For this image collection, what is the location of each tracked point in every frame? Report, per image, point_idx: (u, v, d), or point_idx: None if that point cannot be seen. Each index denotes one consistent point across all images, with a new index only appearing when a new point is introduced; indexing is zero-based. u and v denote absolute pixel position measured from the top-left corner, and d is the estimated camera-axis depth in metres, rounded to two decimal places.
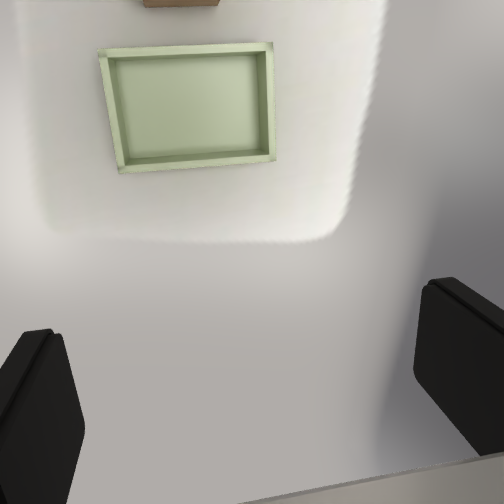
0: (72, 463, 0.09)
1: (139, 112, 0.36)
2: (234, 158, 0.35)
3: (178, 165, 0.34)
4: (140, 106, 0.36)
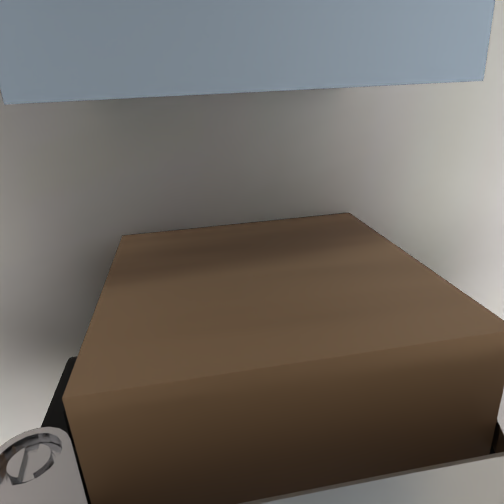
0: None
1: None
2: None
3: None
4: None
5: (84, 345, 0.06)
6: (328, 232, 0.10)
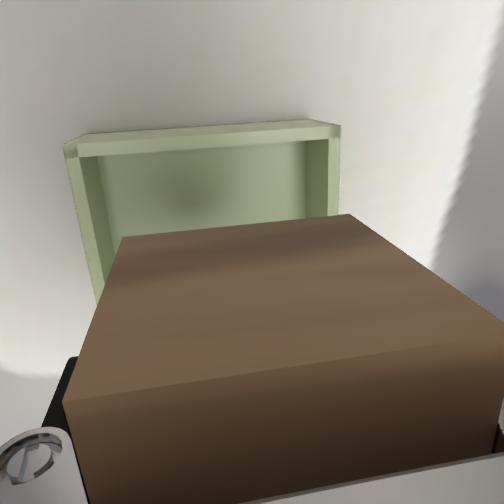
0: None
1: (132, 216, 0.24)
2: None
3: None
4: (134, 207, 0.24)
5: (84, 348, 0.06)
6: (329, 234, 0.10)
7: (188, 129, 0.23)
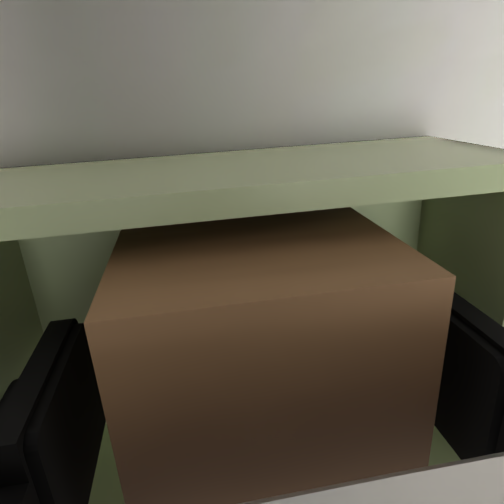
0: (96, 447, 0.10)
1: None
2: None
3: None
4: None
5: (98, 291, 0.07)
6: None
7: (201, 160, 0.11)
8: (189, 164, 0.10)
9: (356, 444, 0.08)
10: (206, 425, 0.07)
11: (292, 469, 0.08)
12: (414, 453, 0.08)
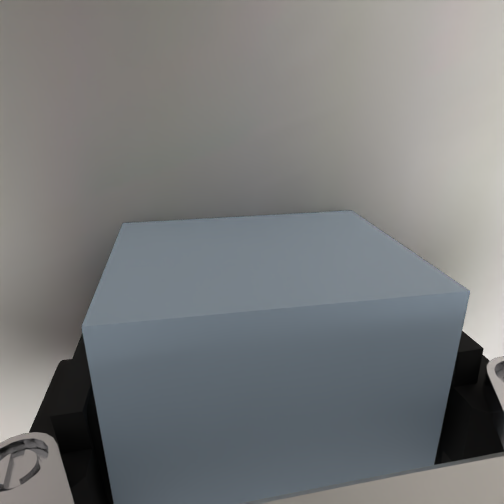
0: None
1: None
2: None
3: None
4: None
5: None
6: None
7: None
8: None
9: None
10: None
11: None
12: None
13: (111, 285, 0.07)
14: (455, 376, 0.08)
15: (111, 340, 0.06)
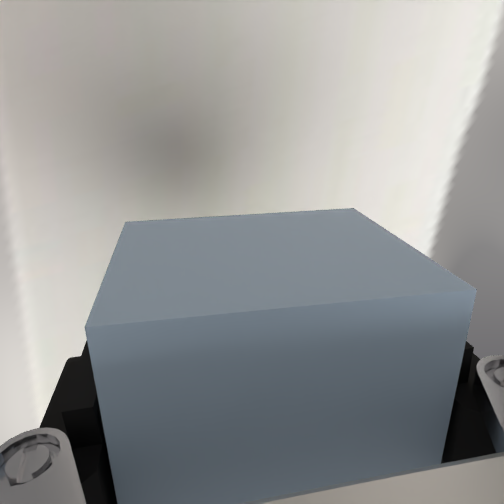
0: None
1: None
2: None
3: None
4: None
5: None
6: None
7: None
8: None
9: None
10: None
11: None
12: None
13: (114, 285, 0.07)
14: None
15: (115, 341, 0.06)
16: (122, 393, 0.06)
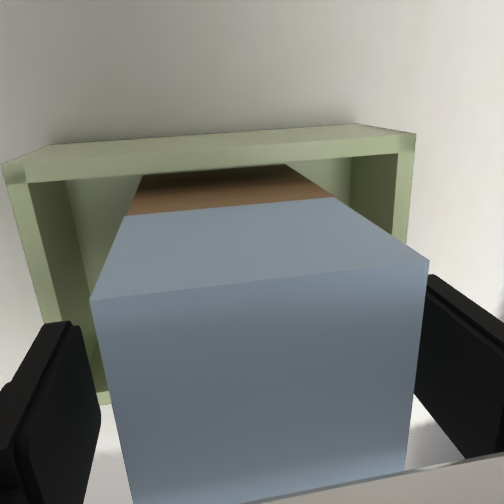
0: (91, 450, 0.09)
1: None
2: None
3: None
4: None
5: (131, 207, 0.12)
6: (267, 172, 0.16)
7: (192, 138, 0.16)
8: (184, 140, 0.16)
9: None
10: None
11: None
12: None
13: (114, 268, 0.08)
14: None
15: (115, 312, 0.07)
16: (123, 358, 0.07)
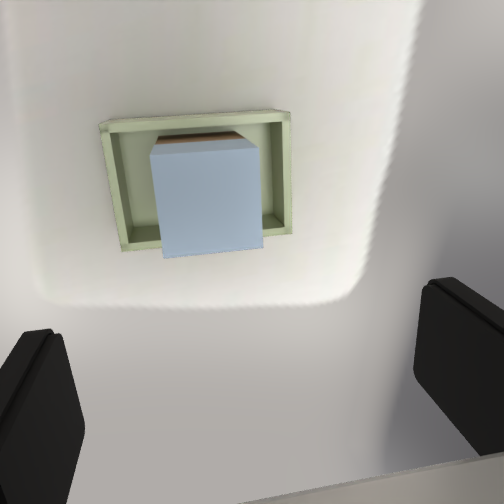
0: (72, 463, 0.09)
1: (143, 180, 0.33)
2: None
3: None
4: (145, 173, 0.33)
5: (155, 143, 0.28)
6: (222, 133, 0.32)
7: None
8: (180, 116, 0.31)
9: None
10: None
11: None
12: None
13: (154, 152, 0.23)
14: None
15: (157, 160, 0.22)
16: (159, 177, 0.23)
